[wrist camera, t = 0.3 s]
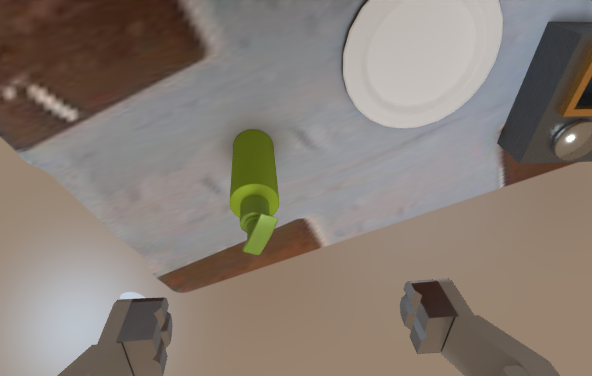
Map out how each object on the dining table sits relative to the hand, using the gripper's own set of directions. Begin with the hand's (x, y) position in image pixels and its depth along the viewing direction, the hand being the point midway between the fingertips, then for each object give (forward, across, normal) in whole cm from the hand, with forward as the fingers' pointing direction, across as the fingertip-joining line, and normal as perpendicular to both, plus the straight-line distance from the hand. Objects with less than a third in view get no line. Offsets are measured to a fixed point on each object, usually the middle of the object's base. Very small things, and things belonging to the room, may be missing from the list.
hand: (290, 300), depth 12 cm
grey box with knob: (+39, -44, +4) cm, 59 cm away
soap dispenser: (+40, +1, +12) cm, 42 cm away
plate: (+40, -21, -1) cm, 45 cm away
